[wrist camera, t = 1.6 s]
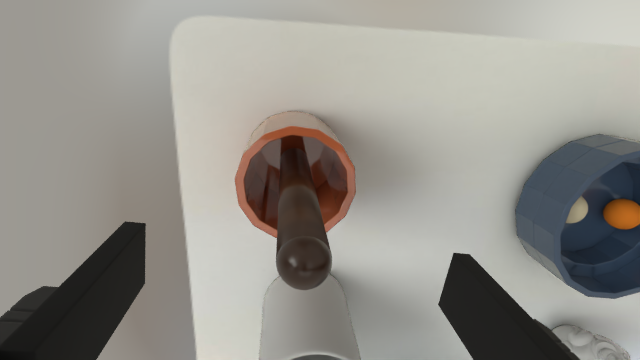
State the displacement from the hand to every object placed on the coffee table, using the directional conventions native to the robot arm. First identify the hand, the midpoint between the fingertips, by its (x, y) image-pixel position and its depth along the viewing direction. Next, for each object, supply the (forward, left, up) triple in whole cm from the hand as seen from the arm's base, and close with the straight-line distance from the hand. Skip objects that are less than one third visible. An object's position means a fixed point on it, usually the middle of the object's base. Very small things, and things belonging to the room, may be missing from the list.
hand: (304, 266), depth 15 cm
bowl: (+1, +29, -18) cm, 35 cm away
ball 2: (+1, +32, -16) cm, 36 cm away
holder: (0, 0, -18) cm, 18 cm away
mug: (+17, +3, -18) cm, 25 cm away
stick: (0, 0, -17) cm, 17 cm away
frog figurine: (+17, +33, -18) cm, 42 cm away
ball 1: (+1, +26, -16) cm, 31 cm away
